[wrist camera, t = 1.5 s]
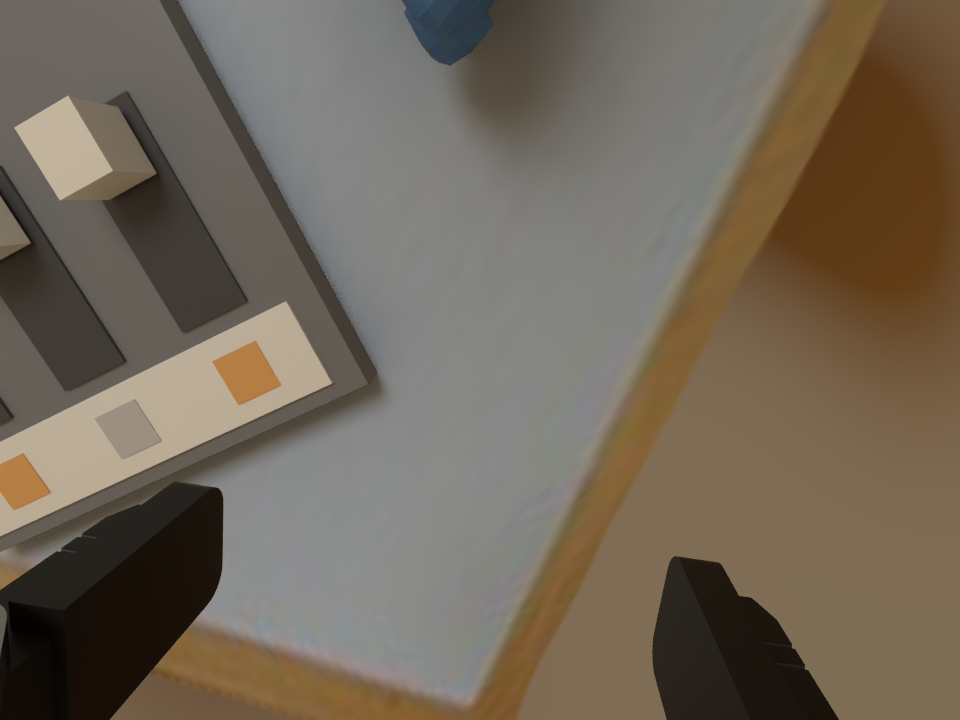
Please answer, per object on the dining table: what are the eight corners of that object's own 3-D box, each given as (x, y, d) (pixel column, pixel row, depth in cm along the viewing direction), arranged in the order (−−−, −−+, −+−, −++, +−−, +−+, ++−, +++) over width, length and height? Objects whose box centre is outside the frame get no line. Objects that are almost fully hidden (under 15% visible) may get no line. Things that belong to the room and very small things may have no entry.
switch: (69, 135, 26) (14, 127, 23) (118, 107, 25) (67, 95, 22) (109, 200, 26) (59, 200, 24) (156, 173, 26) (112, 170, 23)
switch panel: (-257, 179, 29) (-319, 178, 27) (138, -71, 26) (104, -96, 24) (12, 539, 34) (-22, 562, 32) (377, 372, 31) (366, 385, 28)
